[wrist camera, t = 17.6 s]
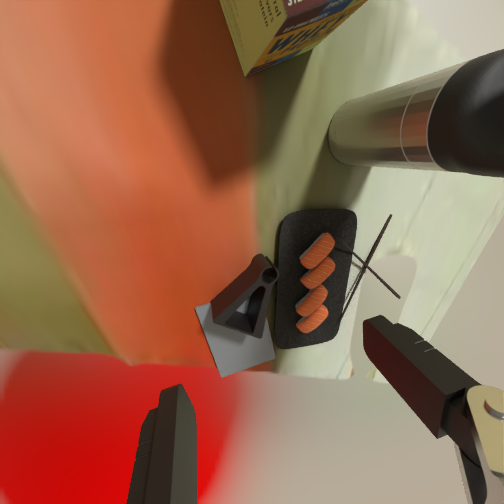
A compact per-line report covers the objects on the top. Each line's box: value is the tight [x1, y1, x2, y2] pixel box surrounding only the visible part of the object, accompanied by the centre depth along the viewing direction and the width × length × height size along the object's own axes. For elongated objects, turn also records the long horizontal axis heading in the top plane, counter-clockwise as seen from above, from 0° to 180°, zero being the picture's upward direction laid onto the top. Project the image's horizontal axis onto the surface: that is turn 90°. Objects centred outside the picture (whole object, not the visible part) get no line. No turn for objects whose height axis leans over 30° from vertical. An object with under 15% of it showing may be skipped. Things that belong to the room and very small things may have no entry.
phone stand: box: [211, 254, 279, 339], centre depth 40 cm, size 9×6×12 cm
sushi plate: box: [274, 209, 401, 349], centre depth 47 cm, size 29×30×4 cm
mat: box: [195, 294, 276, 377], centre depth 47 cm, size 12×18×1 cm, turn 12°
